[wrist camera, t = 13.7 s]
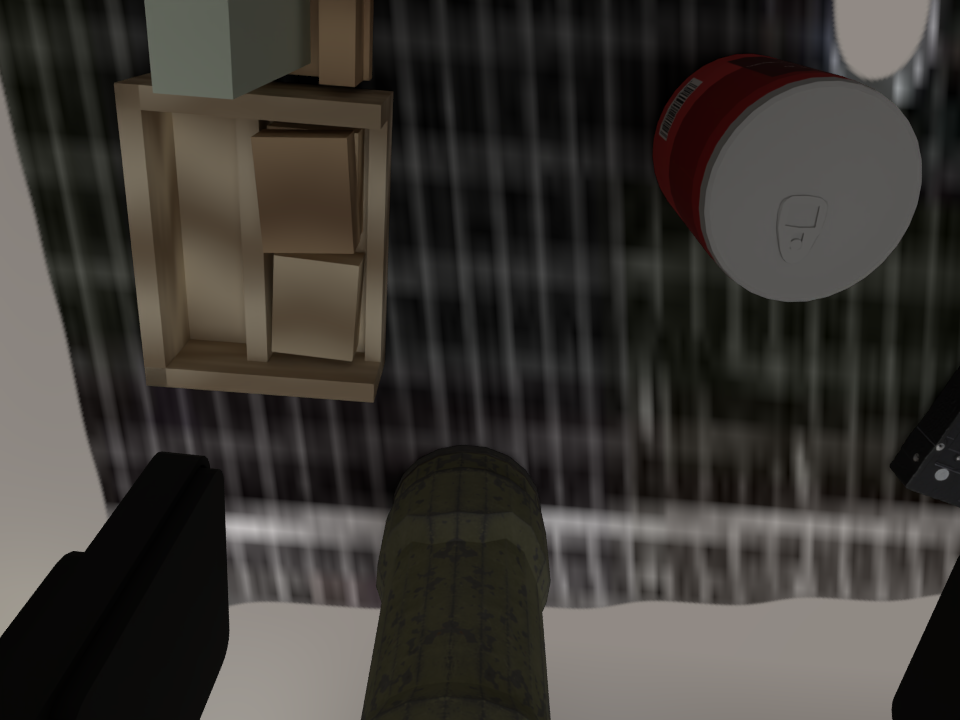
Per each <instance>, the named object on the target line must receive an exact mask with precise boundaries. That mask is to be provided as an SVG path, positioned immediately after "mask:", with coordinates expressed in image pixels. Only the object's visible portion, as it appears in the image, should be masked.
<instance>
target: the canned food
mask: <svg viewBox="0 0 960 720" xmlns="http://www.w3.org/2000/svg"><path fill="white" fill-rule="evenodd" d="M653 163H654V171H655V175H656V178H657V181H658V184H659V187H660V189H661V191H662V192H663V194H664V196H665V197H666V199H667V201H668V202H669V203H670V205H671V206H672V207H673V209H674V210H675V211H676V212H677V214H678V215H679V216H680V218H681V219H682V220H683V222H684V223H685V224H686V226H687V227H688V228H689V230H690V231H691V232H692V233H693V235H694V236H695V237H696V239H697V240H698V241H699V243H700V244H701V245H702V247H703V248H704V249H705V250H706V252H707V253H708V254H709V256H710V257H711V258H712V259H713V260H714V261H715V262H716V264H717V265H718V266H719V267H720V268H721V269H722V270H723V271H724V272H725V273H726V274H727V275H728V276H729V278H731V279H732V280H734V281H735V282H736V283H738V284H739V285H741V286H742V287H744V288H745V289H747V290H748V291H750V292H752V293H755V294H757V295H760V296H762V297H765V298H768V299H773V300H779V301H785V302H795V301H810V300H814V299H819V298H823V297H828V296H830V295H832V294H835V293H837V292H840V291H842V290H845V289H847V288H849V287H850V286H852V285H854V284H855V283H857V282H858V281H860V280H862V279H863V278H865V277H866V276H867V275H869V274H870V273H871V272H872V271H873V270H874V269H876V268H877V267H878V266H879V265H880V264H881V263H882V262H883V261H884V260H885V259H886V258H887V257H888V255H889V254H890V253H891V252H892V251H893V249H894V248H895V247H896V246H897V245H898V243H899V241H900V240H901V238H902V236H903V235H904V233H905V231H906V230H907V228H908V226H909V224H910V222H911V219H912V216H913V214H914V211H915V209H916V206H917V203H918V198H919V193H920V188H921V183H922V160H921V155H920V150H919V146H918V141H917V138H916V136H915V134H914V132H913V129H912V127H911V125H910V123H909V121H908V120H907V119H906V117H905V116H904V115H903V113H902V112H901V111H900V110H899V108H898V107H897V106H896V105H895V104H894V103H892V102H891V101H890V100H889V99H887V98H886V97H885V96H883V95H882V94H881V93H879V92H877V91H876V90H875V89H873V88H871V87H868V86H866V85H864V84H862V83H859V82H857V81H855V80H851V79H848V78H845V77H843V76H839V75H836V74H832V73H828V72H824V71H821V70H817V69H813V68H809V67H806V66H802V65H798V64H794V63H791V62H787V61H783V60H779V59H776V58H772V57H768V56H762V55H757V54H735V55H732V56H728V57H724V58H720V59H717V60H715V61H713V62H711V63H709V64H707V65H705V66H703V67H701V68H700V69H699V70H697V71H696V72H694V73H693V74H692V75H690V76H689V77H688V78H687V79H686V80H685V81H684V82H683V83H682V84H681V85H680V86H679V87H678V88H677V89H676V90H675V92H674V93H673V95H672V96H671V98H670V99H669V101H668V102H667V104H666V105H665V107H664V109H663V112H662V114H661V116H660V119H659V121H658V124H657V128H656V132H655V136H654V142H653Z"/></svg>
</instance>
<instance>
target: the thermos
mask: <svg viewBox="0 0 960 720" xmlns="http://www.w3.org/2000/svg"><path fill="white" fill-rule="evenodd" d="M549 586H550V571H549V560H548V550H547V539H546V532H545V527H544V522H543V518H542V513H541V506H540V501H539V496H538V492H537V487H536V486H535V484H534V482H533V481H532V479H531V478H530V476H529V475H528V473H527V472H526V470H525V469H524V468H523V467H521V466H520V465H519V464H517V463H516V462H515V461H514V460H512V459H511V458H510V457H509V456H507V455H504V454H502V453H499V452H497V451H494V450H491V449H489V448H486V447H477V446H467V445H460V446H454V447H448V448H443V449H438V450H436V451H434V452H432V453H430V454H428V455H426V456H424V457H422V458H420V459H418V460H417V461H416V462H415V463H414V464H413V465H412V466H411V467H410V468H409V469H408V470H407V471H406V472H405V473H404V474H403V476H402V478H401V480H400V482H399V484H398V486H397V488H396V490H395V493H394V499H393V506H392V509H391V511H390V513H389V515H388V517H387V520H386V525H385V530H384V535H383V540H382V545H381V550H380V555H379V560H378V567H377V582H376V587H377V590H378V593H379V596H380V599H381V602H382V604H381V610H380V616H379V622H378V627H377V633H376V638H375V644H374V649H373V655H372V661H371V666H370V672H369V677H368V683H367V689H366V694H365V700H364V706H363V711H362V717H361V720H550V706H549V693H548V681H547V669H546V655H545V642H544V629H543V616H542V611H543V609H544V607H545V605H546V602H547V597H548V592H549Z"/></svg>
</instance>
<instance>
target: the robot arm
mask: <svg viewBox="0 0 960 720" xmlns="http://www.w3.org/2000/svg"><path fill="white" fill-rule="evenodd" d="M228 641H229V607H228V580H227V553H226V527H225V500H224V478H223V473H222V471H221V470H220V469H210V464H209V461H208V458H206V457H205V456H199V455H189V454H180V453H171V452H158V453H157V454H156V455H155V456H154V457H153V458H152V460H151V461H150V462H149V464H148V465H147V467H146V468H145V469H144V471H143V472H142V473H141V475H140V476H139V478H138V479H137V480H136V482H135V483H134V484H133V486H132V487H131V489H130V490H129V491H128V493H127V494H126V495H125V497H124V498H123V500H122V501H121V502H120V504H119V505H118V506H117V508H116V509H115V511H114V512H113V513H112V515H111V516H110V518H109V519H108V520H107V522H106V523H105V524H104V526H103V527H102V529H101V530H100V531H99V533H98V534H97V535H96V537H95V538H94V540H93V541H92V542H91V544H90V545H89V546H88V548H87V549H86V551H85V552H77V551H72V552H70V553H68V554H66V555H64V556H63V557H62V558H61V559H60V560H59V562H57V564H56V565H55V566H54V567H53V569H52V570H51V571H50V573H49V574H48V575H47V576H46V578H45V579H44V581H43V582H42V583H41V584H40V586H39V587H38V588H37V590H36V591H35V592H34V594H33V595H32V596H31V598H30V599H29V600H28V602H27V603H26V604H25V606H24V607H23V608H22V609H21V611H20V612H19V613H18V615H17V616H16V617H15V619H14V620H13V621H12V623H11V624H10V625H9V627H8V628H7V629H6V631H5V632H4V633H3V635H2V636H1V637H0V720H200V718H201V715H202V712H203V710H204V708H205V705H206V703H207V700H208V698H209V696H210V693H211V691H212V688H213V686H214V683H215V681H216V678H217V676H218V674H219V671H220V669H221V666H222V664H223V661H224V658H225V655H226V651H227V647H228ZM892 719H893V720H960V556H959V557H958V559H957V561H956V563H955V565H954V568H953V570H952V572H951V574H950V576H949V578H948V581H947V583H946V585H945V587H944V589H943V592H942V594H941V596H940V598H939V600H938V602H937V605H936V607H935V609H934V611H933V613H932V616H931V618H930V620H929V622H928V624H927V626H926V629H925V631H924V633H923V635H922V637H921V640H920V642H919V644H918V646H917V648H916V650H915V653H914V655H913V657H912V659H911V661H910V664H909V666H908V668H907V670H906V672H905V674H904V677H903V679H902V681H901V683H900V685H899V688H898V690H897V692H896V694H895V697H894V699H893V702H892Z"/></svg>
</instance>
